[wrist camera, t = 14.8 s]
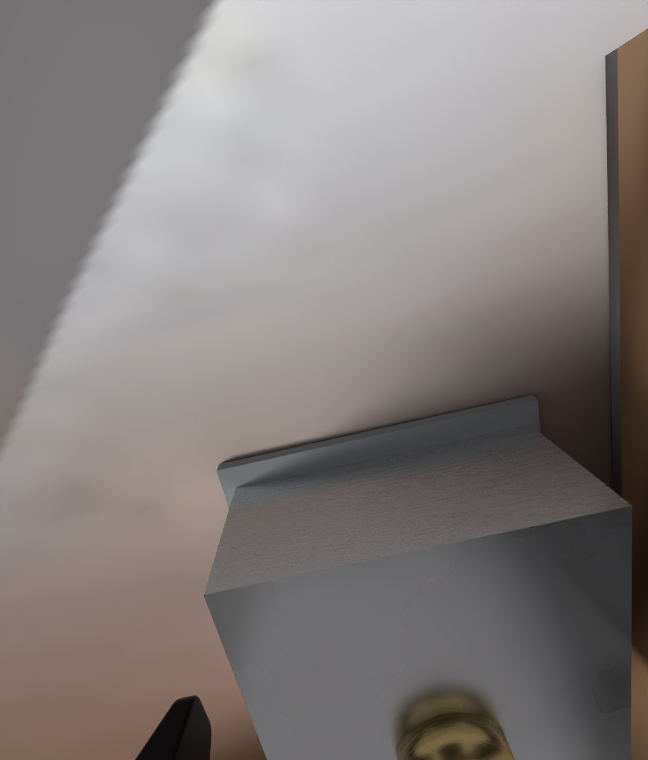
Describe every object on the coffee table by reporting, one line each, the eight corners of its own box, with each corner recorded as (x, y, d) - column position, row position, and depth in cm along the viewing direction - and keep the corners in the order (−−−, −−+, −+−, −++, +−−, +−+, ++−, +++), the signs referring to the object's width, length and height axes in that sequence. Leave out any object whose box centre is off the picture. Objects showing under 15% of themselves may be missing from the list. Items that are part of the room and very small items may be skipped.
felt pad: (552, 663, 12) (558, 673, 11) (303, 713, 12) (303, 725, 11) (530, 395, 9) (538, 399, 9) (219, 464, 9) (216, 470, 9)
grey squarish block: (547, 662, 11) (650, 839, 8) (307, 710, 11) (308, 903, 8) (528, 424, 9) (658, 527, 6) (235, 487, 9) (195, 622, 6)
